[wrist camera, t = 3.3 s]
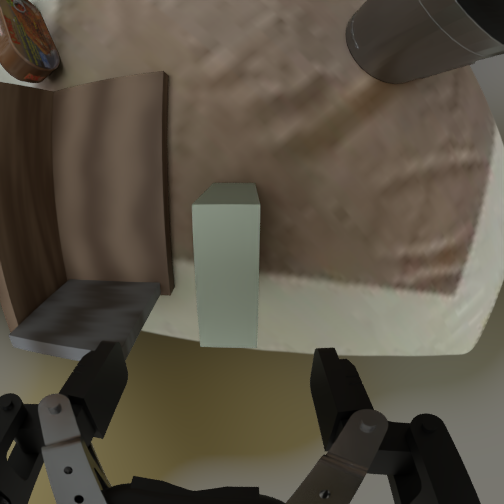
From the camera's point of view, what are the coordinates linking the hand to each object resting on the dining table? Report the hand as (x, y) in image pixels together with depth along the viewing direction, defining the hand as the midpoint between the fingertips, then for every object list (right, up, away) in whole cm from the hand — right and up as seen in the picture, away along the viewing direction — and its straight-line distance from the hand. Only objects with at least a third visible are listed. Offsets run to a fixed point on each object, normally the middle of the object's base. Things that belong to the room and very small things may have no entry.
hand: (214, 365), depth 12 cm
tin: (-23, +29, +11) cm, 39 cm away
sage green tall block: (0, +6, +19) cm, 20 cm away
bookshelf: (-14, +11, +17) cm, 25 cm away
